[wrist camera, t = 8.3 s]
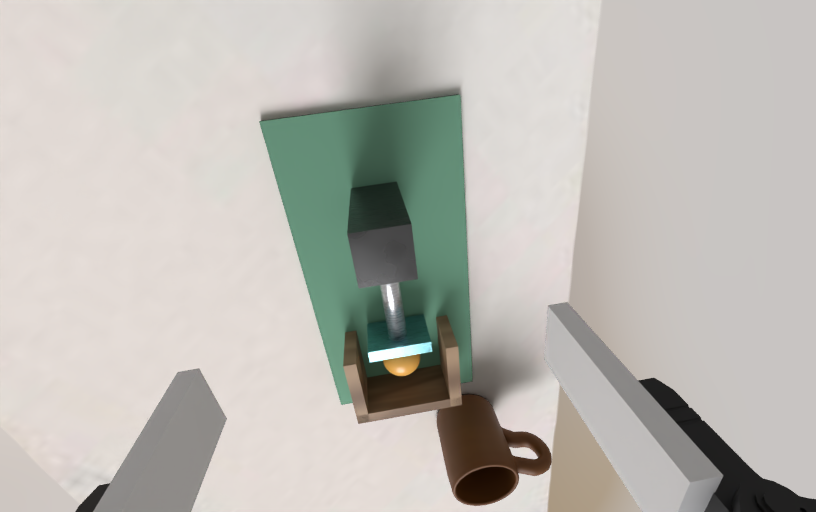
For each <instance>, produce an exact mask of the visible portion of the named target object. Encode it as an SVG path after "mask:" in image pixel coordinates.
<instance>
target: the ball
mask: <svg viewBox="0 0 816 512" xmlns="http://www.w3.org/2000/svg"><path fill="white" fill-rule="evenodd" d="M419 362H420V354H415V355H409V356H404V357H398V358H392V359H386V360H383V363H384V365H385V367H386V369H387V370H388V371H389V372H390V373H392V374H394V375H397V376H406V375H409V374H411V373H412V372H414V371H415V370H416V368H417V367H418V365H419Z"/></svg>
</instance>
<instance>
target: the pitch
mask: <svg viewBox="0 0 816 512" xmlns="http://www.w3.org/2000/svg"><path fill="white" fill-rule="evenodd" d="M260 126H261V129H262V133H263V136H264V139H265V143H266V146H267V150H268V153H269V157H270V160H271V164H272V167H273V171H274V174H275V177H276V181H277V184H278V188H279V191H280V195H281V198H282V202H283V205H284V209H285V212H286V215H287V219H288V222H289V226H290V229H291V233H292V236H293V240H294V243H295V247H296V250H297V253H298V257H299V260H300V264H301V267H302V271H303V274H304V278H305V281H306V284H307V288H308V291H309V295H310V298H311V302H312V305H313V309H314V312H315V316H316V319H317V322H318V326H319V329H320V333H321V336H322V340H323V343H324V347H325V350H326V354H327V357H328V360H329V364H330V367H331V371H332V374H333V378H334V381H335V385H336V388H337V392H338V395H339V398H340V402H341V405H343V404H349V403H353V401H352V398H351V394H350V390H349V386H348V383H347V379H346V375H345V372H344V368H343V360H344V343H345V332H350V331H357V335H358V340H359V344H360V349H361V353H362V357H363V362H364V366H365V370H366V375H367V377H373V376H379V375H384V374H390V372H389V371H388V370H387V369H386V367H385V365H384V363H383V360H381V361H375V362H370V360H369V355H368V337H367V324H368V323H374V322H380V321H386V318H385V312H384V306H383V301H382V295H381V290H380V285H378V286H372V287H366V288H360V289H359V288H358V283H357V278H356V274H355V269H354V264H353V259H352V255H351V250H350V245H349V241H348V236H347V229H348V216H349V204H350V191H351V188H355V187H362V186H369V185H376V184H383V183H390V182H396V181H397V184H398V187H399V189H400V192H401V195H402V198H403V201H404V204H405V207H406V209H407V212H408V215H409V218H410V221H411V224H412V232H413V240H414V249H415V257H416V266H417V274H418V279H416V280H409V281H403V282H399V283H400V289H401V296H402V303H403V310H404V317H410V316H416V315H422V314H424V317H425V321H426V324H427V328H428V332H429V336H430V339H431V345H432V352H427V353H421V354H420V362H419V365H418V367H417V368H416V369H419V368H424V367H430V366H436V365H441V364H440V354H439V344H438V333H437V323H436V317H439V316H445V315H447V317H448V320H449V323H450V325H451V328H452V331H453V334H454V336H455V339H456V342H457V345H458V351H459V367H460V382H461V383H466V382H472V357H471V334H470V310H469V286H468V263H467V239H466V215H465V192H464V168H463V144H462V121H461V97H460V95H452V96H444V97H437V98H429V99H422V100H414V101H407V102H400V103H392V104H385V105H377V106H370V107H362V108H355V109H347V110H340V111H332V112H325V113H317V114H310V115H302V116H295V117H287V118H280V119H273V120H265V121H260Z"/></svg>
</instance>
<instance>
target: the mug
mask: <svg viewBox="0 0 816 512" xmlns="http://www.w3.org/2000/svg"><path fill="white" fill-rule="evenodd" d="M461 398H462V405H459V406H454V407H448V408H443V409H440V410H439V412H438V415H437V428H438V432H439V437H440V442H441V447H442V452H443V456H444V461H445V465H446V470H447V474H448V478H449V482H450V485H451V488H452V492H453V494H454V496H455V498H456V499H457V500H458V501H460V502H461V503H464V504H467V505H473V506H480V505H487V504H491V503H495V502H497V501H500V500H502V499H503V498H505V497H507V496H508V495H509V494H511V493H512V492H513V491H514V489H515V488H516V486H517V485H518V481H519V475H518V473H522V474H527V475H532V476H537V475H540V474H543V473H545V472H546V471H547V470H549V468H550V465H551V463H552V461H551V453H550V451H549V448H548V447H547V445H546V444H545V443H544V442H543V441H542V440H541V439H540V438H538V437H537V436H535V435H533V434H531V433H528V432H512V431H510V430H507V429H504V428H502V427H501V426H500V424H499V422H498V419H497V417H496V414H495V412H494V409H493V407H492V406H491V404H490V403H489V402H488V401H487V400H486V399H485V398H483V397H481V396H478V395H471V394H469V395H461ZM509 447H513V448H519V447H527V448H530V449H531V450H533V451H534V452H535V453H536V455H537V456H538V458H537V459H527V458H521V457H516V456H513V455H512V454H511V451H510V449H509Z"/></svg>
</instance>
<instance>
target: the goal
mask: <svg viewBox="0 0 816 512" xmlns="http://www.w3.org/2000/svg"><path fill="white" fill-rule="evenodd" d="M436 323H437V333H438V344H439V354H440V364H441V365H436V366H430V367H424V368H419V369H416V370H415V371H414V372H412V373H411V374H409V375H406V376H397V375H394V374H392V373H390V374H384V375H379V376H373V377H367V375H366V370H365V366H364V362H363V357H362V353H361V349H360V344H359V340H358V335H357V331H350V332H345V343H344V360H343V368H344V372H345V375H346V379H347V383H348V386H349V390H350V394H351V398H352V401H353V405H354V409H355V413H356V416H357V420H358V424H361V423H366V422H372V421H377V420H383V419H388V418H394V417H399V416H405V415H410V414H416V413H421V412H427V411H432V410H438V409H443V408H448V407H454V406H459V405H462V398H461V382H460V367H459V351H458V345H457V342H456V339H455V336H454V334H453V331H452V328H451V325H450V323H449V320H448V317H447V315H445V316H439V317H436Z"/></svg>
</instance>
